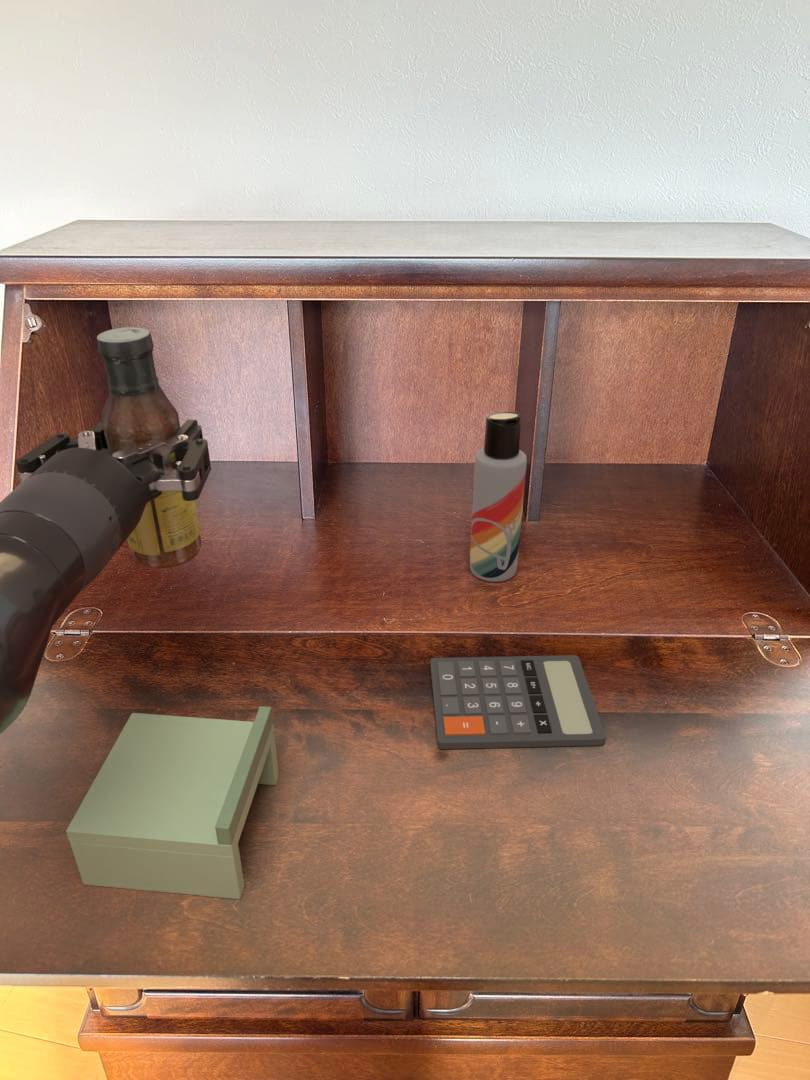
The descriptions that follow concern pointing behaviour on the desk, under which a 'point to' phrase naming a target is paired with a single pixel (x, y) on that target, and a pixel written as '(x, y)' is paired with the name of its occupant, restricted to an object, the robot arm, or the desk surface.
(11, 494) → the robot arm
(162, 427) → the sauce bottle
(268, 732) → the shelf
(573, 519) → the desk surface
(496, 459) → the lotion bottle
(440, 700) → the calculator
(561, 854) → the desk surface
